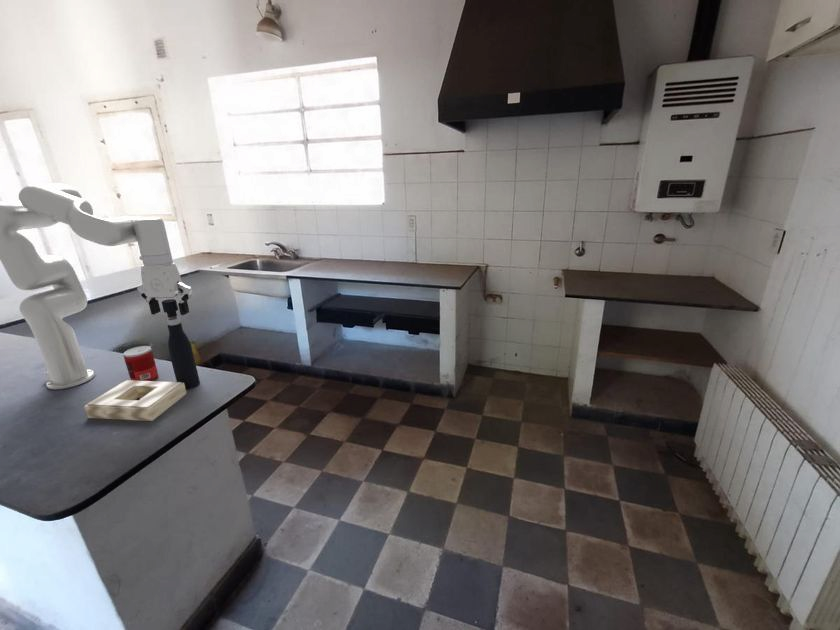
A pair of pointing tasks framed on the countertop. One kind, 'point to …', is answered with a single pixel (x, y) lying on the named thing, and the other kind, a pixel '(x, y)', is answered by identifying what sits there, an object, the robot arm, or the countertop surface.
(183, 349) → the black water bottle
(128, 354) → the canned food
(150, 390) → the holder block
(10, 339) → the countertop surface
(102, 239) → the robot arm
